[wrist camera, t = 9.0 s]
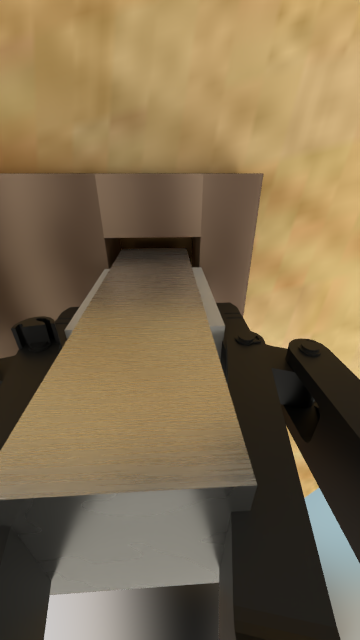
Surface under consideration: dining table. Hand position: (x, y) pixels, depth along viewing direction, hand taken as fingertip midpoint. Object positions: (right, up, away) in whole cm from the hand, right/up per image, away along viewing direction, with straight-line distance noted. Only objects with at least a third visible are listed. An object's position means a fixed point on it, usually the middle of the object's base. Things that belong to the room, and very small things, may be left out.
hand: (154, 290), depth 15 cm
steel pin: (0, +1, +2) cm, 2 cm away
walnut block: (-6, +3, +5) cm, 9 cm away
